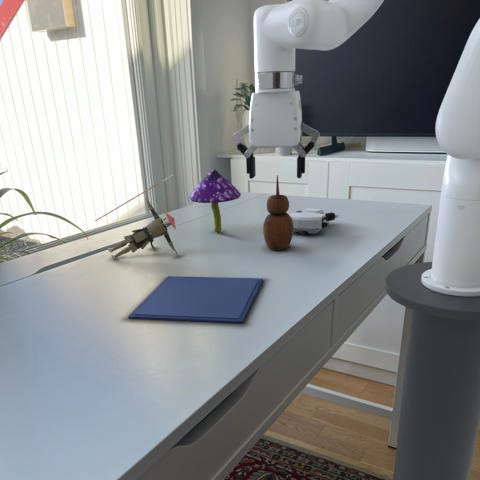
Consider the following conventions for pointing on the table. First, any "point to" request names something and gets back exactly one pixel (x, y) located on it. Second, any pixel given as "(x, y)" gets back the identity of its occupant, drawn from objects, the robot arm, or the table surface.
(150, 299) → the blue square tray
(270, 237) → the wooden figurine
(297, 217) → the robot toy
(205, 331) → the table surface
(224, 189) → the decorative mushroom
